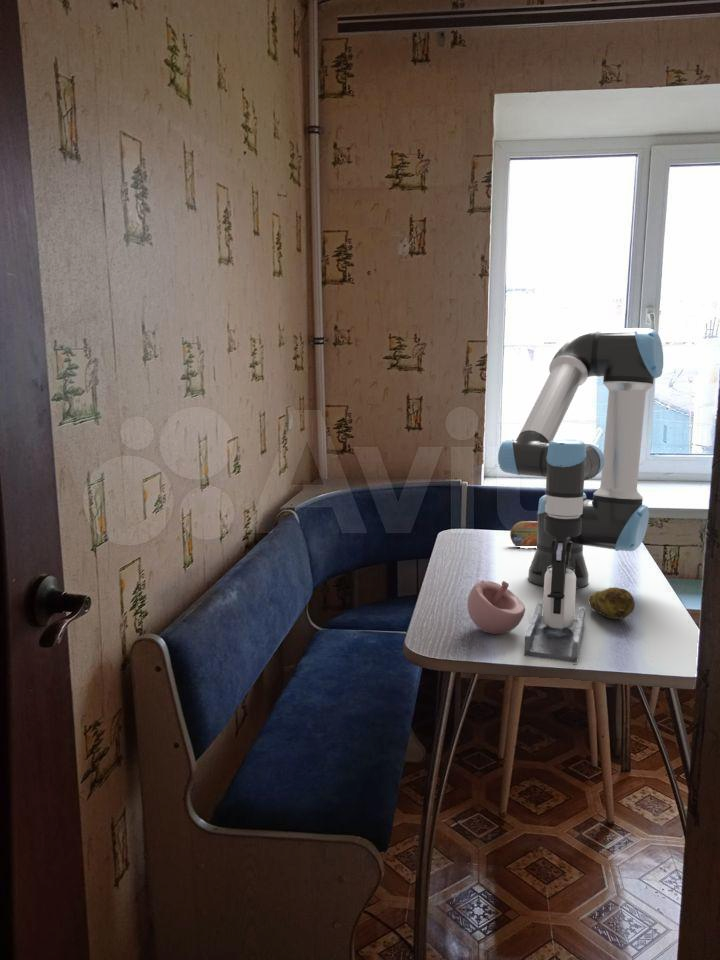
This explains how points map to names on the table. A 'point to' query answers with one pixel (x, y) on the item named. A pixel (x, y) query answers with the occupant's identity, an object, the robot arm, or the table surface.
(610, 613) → the potato
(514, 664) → the table surface
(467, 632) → the table surface
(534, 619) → the track
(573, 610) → the can
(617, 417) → the robot arm
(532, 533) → the tin
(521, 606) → the mortar and pestle
